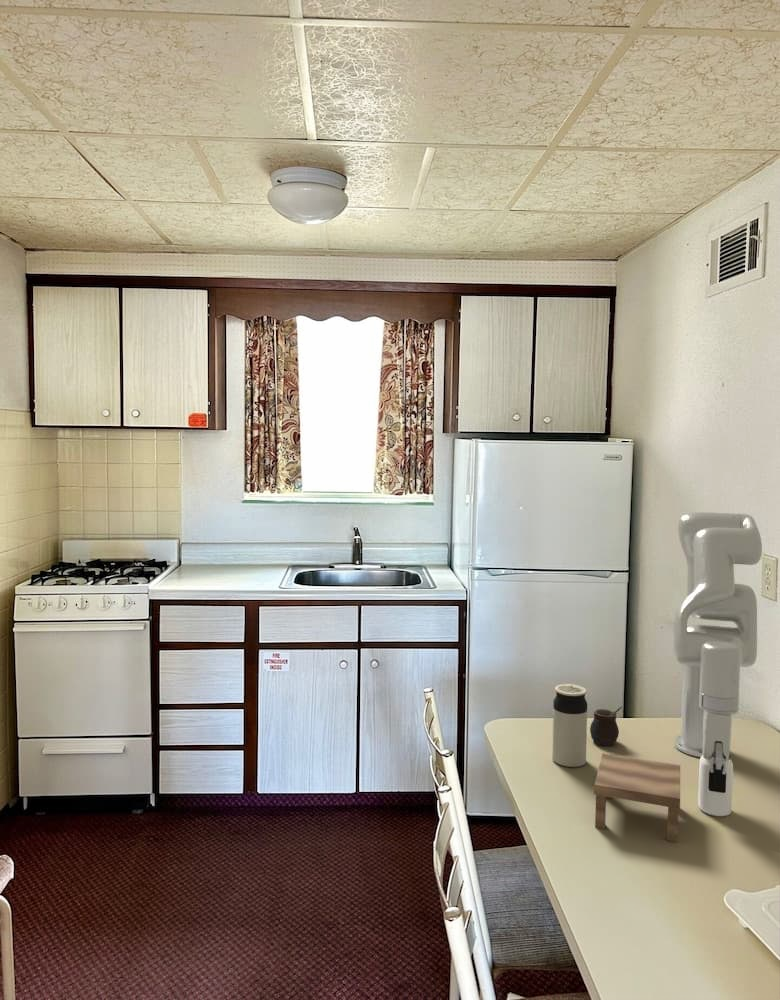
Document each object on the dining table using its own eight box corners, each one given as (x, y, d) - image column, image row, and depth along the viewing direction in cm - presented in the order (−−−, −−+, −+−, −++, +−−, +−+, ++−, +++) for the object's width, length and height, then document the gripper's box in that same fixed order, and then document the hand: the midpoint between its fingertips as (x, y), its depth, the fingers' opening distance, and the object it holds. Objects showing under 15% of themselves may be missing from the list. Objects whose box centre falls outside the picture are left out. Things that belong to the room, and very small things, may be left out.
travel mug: (580, 771, 174) (581, 696, 173) (547, 763, 178) (549, 690, 177) (590, 758, 181) (591, 687, 179) (558, 751, 185) (560, 681, 184)
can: (734, 819, 152) (737, 762, 151) (701, 815, 153) (703, 760, 152) (727, 804, 158) (729, 749, 157) (695, 801, 160) (697, 747, 159)
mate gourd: (587, 735, 195) (589, 699, 194) (617, 737, 194) (618, 700, 193) (591, 746, 188) (592, 708, 187) (621, 749, 187) (623, 710, 186)
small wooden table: (601, 792, 163) (602, 753, 163) (678, 805, 157) (680, 765, 157) (593, 827, 148) (594, 784, 148) (678, 843, 143) (680, 798, 142)
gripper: (698, 687, 163) (695, 763, 164) (700, 712, 147) (697, 796, 148) (735, 691, 160) (732, 768, 161) (741, 717, 144) (738, 802, 145)
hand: (715, 781), depth 155 cm, fingers open, 9 cm apart
